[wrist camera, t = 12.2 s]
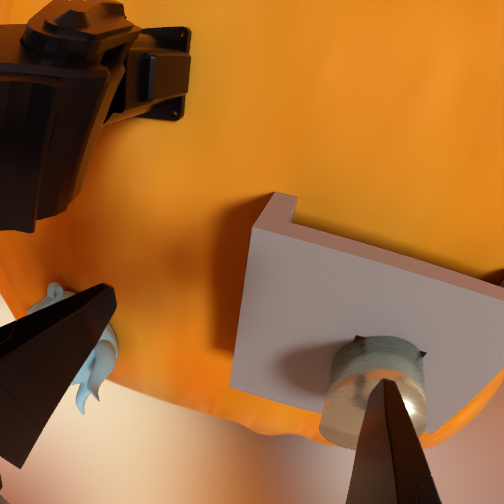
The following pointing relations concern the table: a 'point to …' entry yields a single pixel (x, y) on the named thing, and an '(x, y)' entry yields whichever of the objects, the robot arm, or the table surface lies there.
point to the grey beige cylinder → (371, 385)
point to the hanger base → (357, 315)
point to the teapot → (98, 360)
